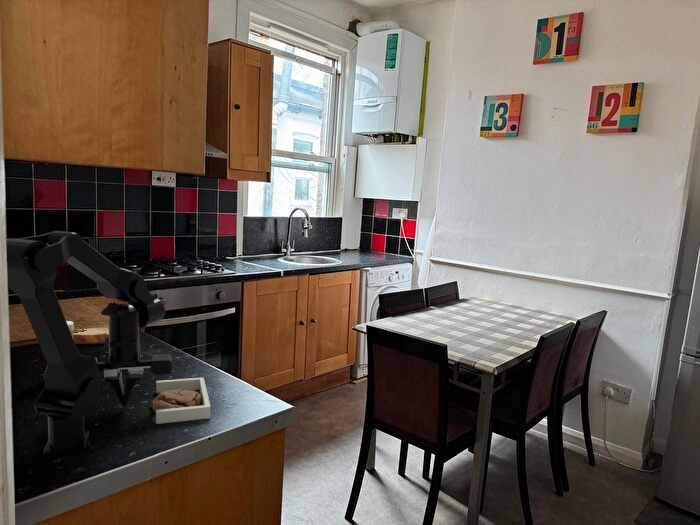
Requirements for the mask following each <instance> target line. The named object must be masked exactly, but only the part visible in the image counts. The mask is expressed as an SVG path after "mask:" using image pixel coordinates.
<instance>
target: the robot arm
mask: <svg viewBox="0 0 700 525" xmlns="http://www.w3.org/2000/svg"><path fill="white" fill-rule="evenodd" d="M6 239H7V262H8V287H7V288H8V289H10V290H11V292H13V293H14V294H16V295H17V297H18V298H19V300H20V303H21V305H22V306H23V307H22V308H23V309H24V312H25V314H26V316H27V319H28V320H29V323H30V326H31V328H32V330H33V333H34V335H35V337H36V340H37V342H38V344H39V346H40V349H41V351H42V354H43V356H44V358H45V360H46V364H47V366H46V369H45V371H44V375H43V379H44V384H45V385H44V386H43V388H42V390H40V392H39V394H38V396H37V398H36V399H35V400H34V402H33V405H32V406H33V408H34V410H35V413H36V414H39V415H40V414H41V415H46V416H47V427H48V428H47V431H48V432H47V436H48V439H47V441H46V443H45V446H44V448H43V451H42V454H43V455H52V454H60V453H61V454H62V453H69V452H79V451H84V450H85V449H86V447H87V442H88V440H89V437H90V431H89V430H88V431H86V430H85V428H86V427H85V425H86V424H85V420H86V419H85V417H86V416H87V415H90V414H91V413H93V412H94V411H95V410H96V407H97V405H98V401H99V395H100V392H101V387H102V386H101V385H102V379H101V376H100V375H102V373H103V374H104V375H103V376H104V377H103V382H104V383H105V382H106V383H109V385H110V386H111V388H112V389H113V391H114V393H115V394H116V396H117V399H118V401H119V404H120V405H121V407H127V404H128V401H129V398H130V396H131V393H132V390H133V388H134V387H135V385H136V383H137V381H140V380H143V376H144V370H151V372H152V373H153V374H154V375H155V376H160V375H170V374H172V372H173V370H172V369H173V368H172V366H173V364H172V362H173V361H172V359H173V356H172V355H171V354H170V353H159V354H158V353H157V354H156V353H155V354H152V356H151V359H140V358H141V344H140V329H142V328H146V327H148V326H151V325H153V324H156V323H158V322H161V321H162V320H163V319H164V318H165V316H166V312H167V310H166V308H165V305H164V303H163V302H162V300H160V299H159V298H158V293H155V292H150V290H149V288H148V286H147V285H146V283H145V282H146V281H145V279H144V277H143V276H142V275H141V274H138V273H137V272H134V271H132V270H129V269H125V268H121V267H119V266H117V265H116V264H114V263H113V262H112V261H111V260H109V259H108V258H106V256H104V255H103V254H102V253H101V252H99V251H98V250H96V249H95V248H93V247H92V245H90V244H89V243H88V242H86V240H84V239H83V237H82V236H81V235H80V234H78V233H76V232H71V231H61V230H53V231H50V232H47V233H44V234H39V235H35V236H33V235H32V236H28V237H21V238H6ZM66 263H67V264H69V265H70V266H72V267H74V269H76V270H78V271H79V272H81V273H82V274H83V275H84V276H86V277H87V278H89V279H90V280H93V281H94V282H95V284H96V288H97V290H98V291H99V293H100V294H101V295H102V296H103V297H104V298H105V299H107V300H110V301H116V303H115V302H108V305H107V306H105V307H104V308H103V309H102V311H101V313H100V315H101V316H105V317H108V328H109V338H105V344H103V346H104V347H103V348H104V349H103V350H104V353H106V354H108V361H99V362H98V359H97V357H96V356H93V355H85V354H81V353H79V350H78V348H77V345H76V344H75V342H74V340H73V337H72V335H71V332H70V330H69V327H68V324H67V322H66V321H67V319H66V317H65V314H64V312H63V309H62V307H61V305H60V302H59V299H58V296H57V294H56V291H55V289H54V283H55V280H56V276H57V274H58V268H57V267H59V266H62V265H64V264H66ZM117 302H118V303H117ZM119 302H120V304H119ZM121 302H122V303H121ZM122 371H123V372H124V371H127V377H126V382H125V389H124V384H123V383H124V382H123V372H122Z"/></svg>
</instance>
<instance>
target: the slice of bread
mask: <svg viewBox="0 0 700 525" xmlns="http://www.w3.org/2000/svg"><path fill="white" fill-rule="evenodd" d="M82 329H84V330H87V331H84V332H78V333H73V340H74V342H75V345H76V344H77V345H104V344H105V338H109V327H107V326H105V327H91V328H81V329H78V330H82Z"/></svg>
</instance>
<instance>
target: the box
mask: <svg viewBox="0 0 700 525" xmlns="http://www.w3.org/2000/svg"><path fill="white" fill-rule="evenodd" d="M204 378H205V377H192V378H191V377H190V378H177V379H169V380H168V379H166V380H156V383H155V384H156V387H155V389H156V391H155V392H156V394H160V393H161V392H162V391H166V390H178V389H185V390H193V391H197V390H199V392H200V393H199V394H200V395H201V396H202V404H201V405H199V406H193V407H182V408H172V409H162V410H156V412H155V424H156V425H158V424H159V425H160V424H167V423H178V422H186V421H187V422H188V421H196V420H205V419H207V420H208V419H211V402H210V398H209V394H208V390H207V386H206V382H205V379H204Z"/></svg>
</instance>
